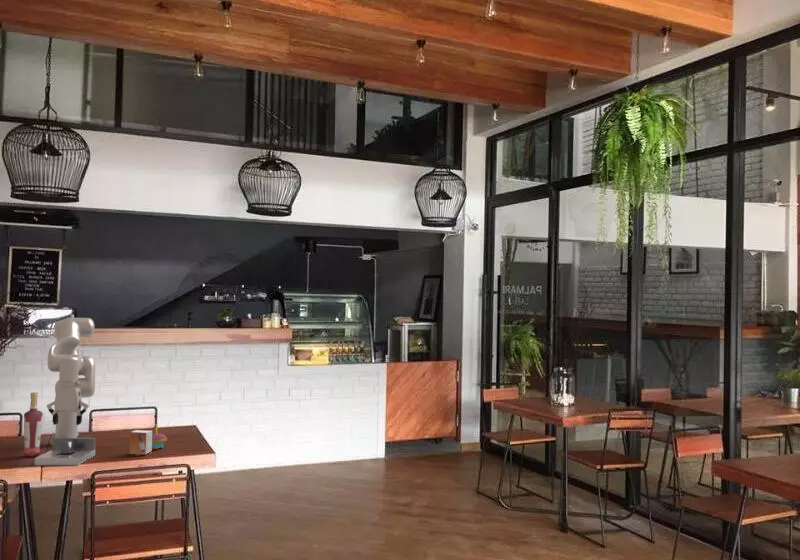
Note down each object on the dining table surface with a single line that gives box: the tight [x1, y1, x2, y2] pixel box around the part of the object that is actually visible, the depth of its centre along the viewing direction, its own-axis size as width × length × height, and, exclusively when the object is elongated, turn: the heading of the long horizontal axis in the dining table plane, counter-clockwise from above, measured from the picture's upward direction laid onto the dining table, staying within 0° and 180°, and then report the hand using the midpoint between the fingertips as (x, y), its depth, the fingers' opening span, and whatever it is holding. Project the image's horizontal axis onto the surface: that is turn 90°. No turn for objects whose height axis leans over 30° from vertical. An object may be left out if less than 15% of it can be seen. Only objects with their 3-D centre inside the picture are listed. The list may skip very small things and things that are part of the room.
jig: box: [34, 437, 97, 466], centre depth 291 cm, size 18×18×8 cm
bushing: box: [60, 441, 72, 455], centre depth 291 cm, size 4×4×8 cm
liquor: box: [22, 392, 44, 458], centre depth 298 cm, size 7×7×28 cm
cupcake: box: [152, 423, 168, 448], centre depth 317 cm, size 9×8×12 cm
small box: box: [128, 429, 153, 454], centre depth 305 cm, size 8×6×10 cm
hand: (67, 424), depth 292 cm, fingers open, 9 cm apart
